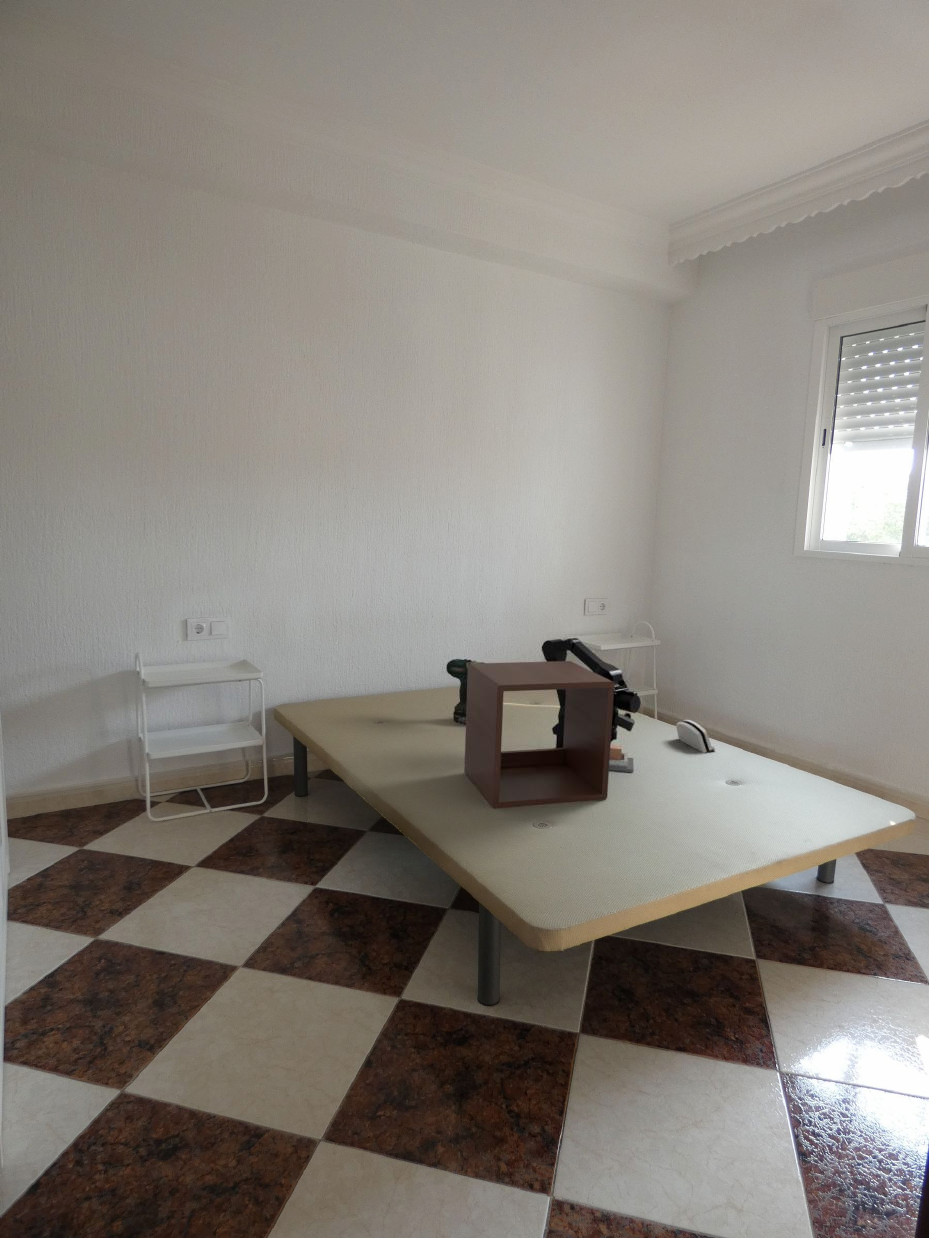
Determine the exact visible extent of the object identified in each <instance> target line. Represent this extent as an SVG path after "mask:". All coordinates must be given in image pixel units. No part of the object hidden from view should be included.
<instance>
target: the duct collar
mask: <svg viewBox="0 0 929 1238" xmlns="http://www.w3.org/2000/svg"><path fill="white" fill-rule="evenodd" d="M634 767H635V766H634V758H633V757H628V753H627V752H621V760H616V759H610V761H609V771H611V772H612V771H613V772H622V773H623V772H624V773H632V774H633V773H634V770H635V769H634Z"/></svg>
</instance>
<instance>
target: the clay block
mask: <svg viewBox="0 0 929 1238" xmlns="http://www.w3.org/2000/svg"><path fill="white" fill-rule="evenodd" d="M622 746H623V745H617V744H611V745H610V759H616V760H621V753H623V751H622V750H623V749H622V748H623V747H622Z"/></svg>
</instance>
